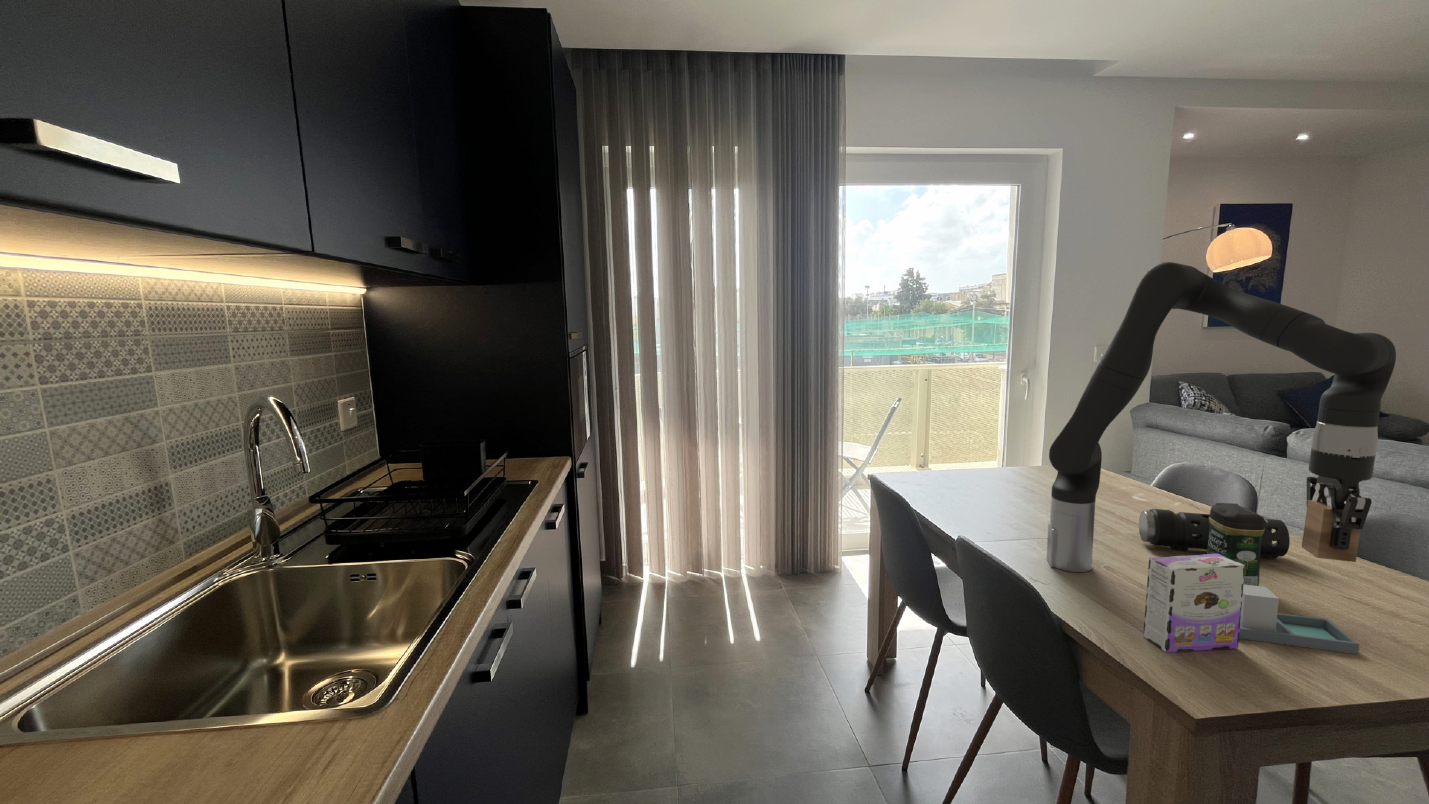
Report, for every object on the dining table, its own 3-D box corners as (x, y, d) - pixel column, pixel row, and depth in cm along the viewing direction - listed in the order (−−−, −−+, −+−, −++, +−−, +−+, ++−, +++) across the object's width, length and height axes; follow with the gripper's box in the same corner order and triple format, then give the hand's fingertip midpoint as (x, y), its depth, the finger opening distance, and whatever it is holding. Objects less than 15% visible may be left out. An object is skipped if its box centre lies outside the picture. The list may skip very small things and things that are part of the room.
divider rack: (1232, 637, 109) (1236, 598, 108) (1211, 614, 117) (1215, 577, 116) (1358, 654, 102) (1363, 612, 101) (1326, 628, 111) (1331, 589, 110)
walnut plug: (1317, 557, 100) (1324, 508, 99) (1301, 547, 105) (1308, 499, 103) (1355, 562, 98) (1363, 511, 97) (1338, 550, 103) (1345, 502, 101)
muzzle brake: (1288, 567, 138) (1292, 526, 136) (1146, 552, 148) (1149, 514, 147) (1268, 552, 146) (1272, 513, 145) (1136, 539, 157) (1139, 503, 156)
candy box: (1210, 632, 111) (1218, 552, 109) (1239, 649, 105) (1247, 565, 103) (1141, 636, 110) (1147, 555, 108) (1166, 653, 105) (1173, 568, 102)
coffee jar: (1197, 575, 135) (1203, 499, 132) (1237, 577, 133) (1244, 500, 130) (1222, 594, 125) (1229, 513, 123) (1265, 597, 124) (1274, 514, 121)
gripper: (1292, 439, 107) (1281, 526, 109) (1338, 457, 94) (1324, 555, 96) (1346, 441, 104) (1333, 531, 106) (1402, 460, 91) (1385, 562, 93)
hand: (1329, 542), depth 101 cm, fingers closed on walnut plug, 5 cm apart
